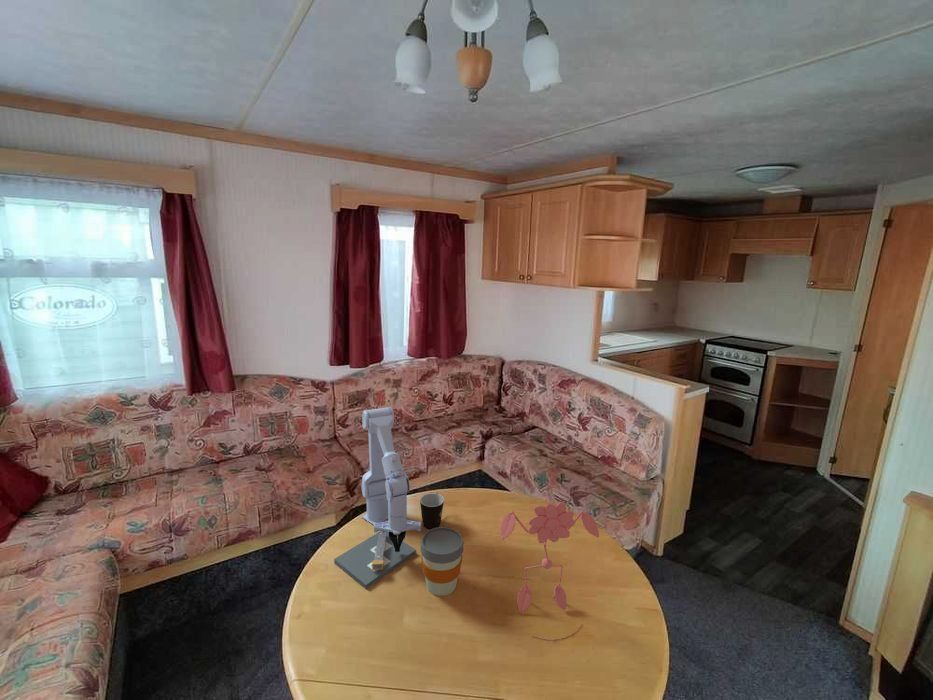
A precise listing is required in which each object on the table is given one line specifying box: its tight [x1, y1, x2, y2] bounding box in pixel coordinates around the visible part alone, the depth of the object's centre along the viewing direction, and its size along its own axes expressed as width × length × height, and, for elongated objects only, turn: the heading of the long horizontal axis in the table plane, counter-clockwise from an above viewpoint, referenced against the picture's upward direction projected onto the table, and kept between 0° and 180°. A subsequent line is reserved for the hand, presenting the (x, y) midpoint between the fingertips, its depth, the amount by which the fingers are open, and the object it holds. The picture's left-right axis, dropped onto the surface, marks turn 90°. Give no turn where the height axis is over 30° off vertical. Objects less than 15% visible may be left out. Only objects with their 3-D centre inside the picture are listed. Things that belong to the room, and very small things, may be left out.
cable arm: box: [372, 533, 386, 570], centre depth 133 cm, size 15×3×2 cm, turn 6°
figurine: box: [499, 501, 600, 643], centre depth 110 cm, size 15×26×35 cm, turn 93°
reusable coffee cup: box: [420, 526, 465, 597], centre depth 123 cm, size 12×13×15 cm
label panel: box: [333, 531, 417, 590], centre depth 133 cm, size 20×16×4 cm
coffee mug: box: [419, 492, 445, 531], centre depth 152 cm, size 12×9×10 cm
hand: (397, 549), depth 133 cm, fingers closed
